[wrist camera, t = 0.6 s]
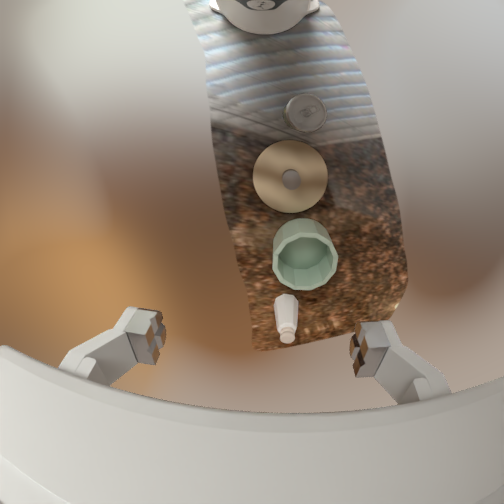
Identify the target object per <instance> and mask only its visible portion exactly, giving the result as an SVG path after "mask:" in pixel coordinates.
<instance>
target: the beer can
mask: <svg viewBox="0 0 504 504" xmlns="http://www.w3.org/2000/svg"><path fill="white" fill-rule="evenodd" d="M283 118H284V120H285V122H286V124H287V125H288V126H289V127H291V128H292V129H295V130H298V131H302V132H313V131H316V130H318V129H319V128H321V127H322V126H323V124H324V123H325V121H326V118H327V110H326V107H325V104H324V103H323V102H322V100H321V99H319V98H318V97H317V96H315V95H312V94H308V93H302V94H299V95H296V96H294V97H293V98H291V100H290V101H289V102H288V104H287V105H286V106H285V108H284V111H283Z"/></svg>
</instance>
